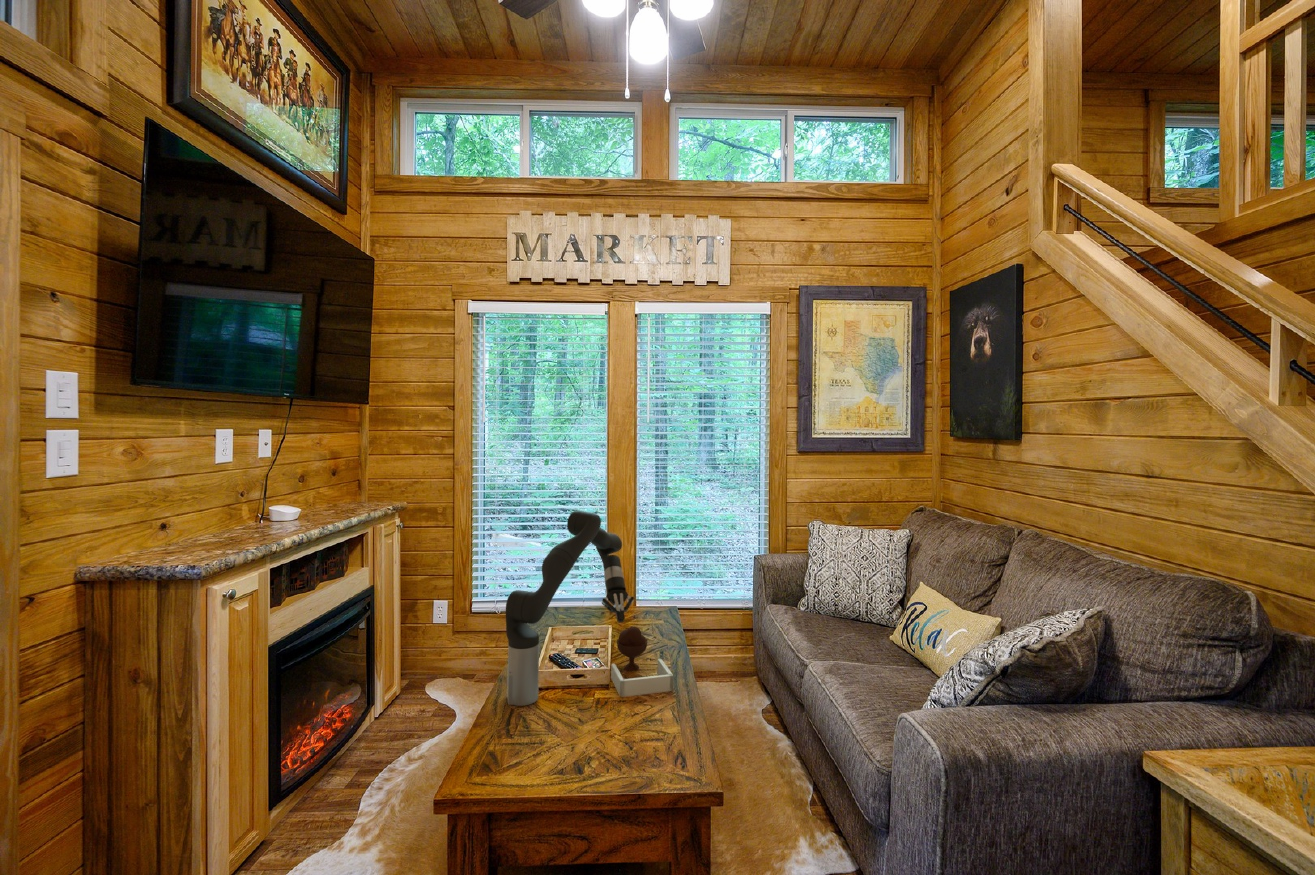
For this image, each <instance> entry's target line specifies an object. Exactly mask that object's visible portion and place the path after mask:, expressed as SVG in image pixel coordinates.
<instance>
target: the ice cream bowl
mask: <svg viewBox="0 0 1315 875" xmlns="http://www.w3.org/2000/svg"><path fill="white" fill-rule="evenodd" d="M616 646H617V650H618V651H619V653H621V654H622V655H623V656H625V657H627V658H628V659H629V660H628V661H629V663H627V664H625V665H624V667H623V670H624V671H627V672H630V673H631V672H637V671H639V670H640V665H639V664H636V663H635V658H637V657H639V656H640V655H642V654H643V653H644V652H645V651H646V649H647V647H648V639H646V636H644V635H643V634H642V630H641V629H640V628H639V627H638V626H634V625H633V626H630V627H628V628H625V629H623V630H622V631H621V632H620V633H619V635H618V639H616Z"/></svg>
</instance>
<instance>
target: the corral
mask: <svg viewBox="0 0 1315 875" xmlns="http://www.w3.org/2000/svg"><path fill="white" fill-rule="evenodd" d="M610 668H611V670H610V671H611V672H610V680H611V681H612V683H613V685H614V687H615V689H616V692H617V693H618V695H619V697H620V698H625V697H634V696H641V695H643V696H644V695H651V694H659V693H667V692H674V687H675V686H674V680H675V677H674V674H673V673H672V671H671V670H670V668H669V667H668V666H667V664H666V663H665V662H664V661H663V659H662V658H658V659H657V672H656V673H657V675H651V676H650V675H649V676H642V677H633V678H632V677H631V678H624V677H623V676H622V674H621V672H620V670H619V669H618V666H617V665H616V663H611V666H610Z"/></svg>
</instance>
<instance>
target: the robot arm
mask: <svg viewBox="0 0 1315 875" xmlns="http://www.w3.org/2000/svg"><path fill="white" fill-rule="evenodd" d="M601 526H602V520H601V517H600V515H599V514H597V513H594V512H590V511H589V512H588V511H584V510H573V511H572V512H571V513H570V514H569V516H568V519H567V530H568V532H569V534H571V535H573V537H570V538H568V539H566V540H564V541H562V542H560V543H558V544H556V545H555V546H554V547H552V548H551V550H550V551H549V552H548V553H547V555H546V557H545V558H544V560H543V562H542V564H541V574H542V575H541V577H542V582H541V585H540V587H539V588H537V590H536V591H529V590H528V591H527V590H521V589H519V590H518V589H517V590H516V589H515V590H513V591H512V592H510V593H509V595H508V597H507V600H506V604H505V627H506V628H505V631H506V632H505V633H506V638H507V640H508V641H507V642H508V643H507V644H508V645H507V647H508V650H507V652H508V653H507V654H508V655H507V675H506V678H507V680H506V681H507V682H506V683H507V684H506V685H507V686H506V689H507V690H506V692H507V693H506V695H507V696H506V697H507V698H506V699H507V705H508V706H516V707H517V706H519V707H522V706H523V707H524V706H529V705H532V704H534V703H536V702H537V701H538V700H539V683H540V682H539V681H540V680H539V678H540V677H539V676H540V675H539V674H540V673H539V668H540V666H539V665H540V664H539V661H540V634H539V633H538V632H537V631H536V630H535V629H533V628H532V627H531V626H530V625H529V624H531V625H532V624H537V623H538V622H539V621H540V620H541V619H542V618H543V617H544V615H545V614H546V611H547V609H548V608H549V607H550V606H549V605H550V604H551V602H552V600H553V598H554V596H555V594H556V593H557V590H558V589H559V588H560V586H561V585H562V583H563V581H564V580H565V579H566V577H567V576H568V574H569V573H570V572H571V570H572V569H573V567H574V566H575V564H576V562H577V561H578V559H579V558H580V556H581V555H582V554H583V552H584V551H585V549H587V547H588V546H589V545H590V544H592V545H594V546H595V548H596V552H597V553H598V555H599V557H600V560H601V561H602V566H603V571H604V572H603V574H604V583H605V584H604V585H605V590H606V595H605V597H603V598H602V600H601V604H602V605H603V607H605V608H606V609H607V610H608V611H609V612H610V613H611V614H613V613H614V615H615V617H616V622H618V623H619V624H620V623H623V622H624V621H625V617H626V616H625V613H626V612H628V610H629V609H630V607H631V605H632V603H633V602H634V600H635V597H634V596H630V595H629V593H628V591H627V589H626V587H627V586H626V581H625V576H624V572H623V569H622V564H621V563H622V562H621V559H620V556H618V555H616V554H615V553H617V552H619V551H620V550H621V549H622V547H623V542H622V539H621V538H620V537H619V535H617V534H616V533H613V532H607V531H606V530H605V529H603V528H602V527H601ZM625 602H627V603H626V604H624V603H625ZM624 605H625V606H624Z"/></svg>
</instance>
